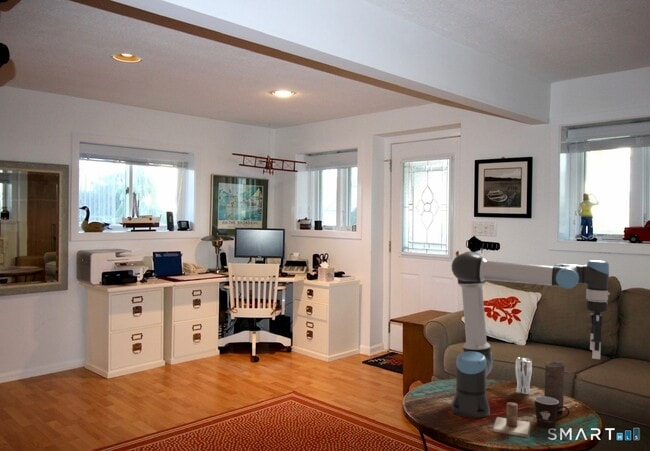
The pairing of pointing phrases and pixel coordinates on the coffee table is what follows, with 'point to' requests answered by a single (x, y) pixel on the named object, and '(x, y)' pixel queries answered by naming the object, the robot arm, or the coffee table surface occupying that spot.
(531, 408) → the coffee table surface
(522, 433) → the cover
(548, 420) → the coffee mug
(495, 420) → the mat
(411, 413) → the coffee table surface
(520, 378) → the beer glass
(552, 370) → the dark brown log
